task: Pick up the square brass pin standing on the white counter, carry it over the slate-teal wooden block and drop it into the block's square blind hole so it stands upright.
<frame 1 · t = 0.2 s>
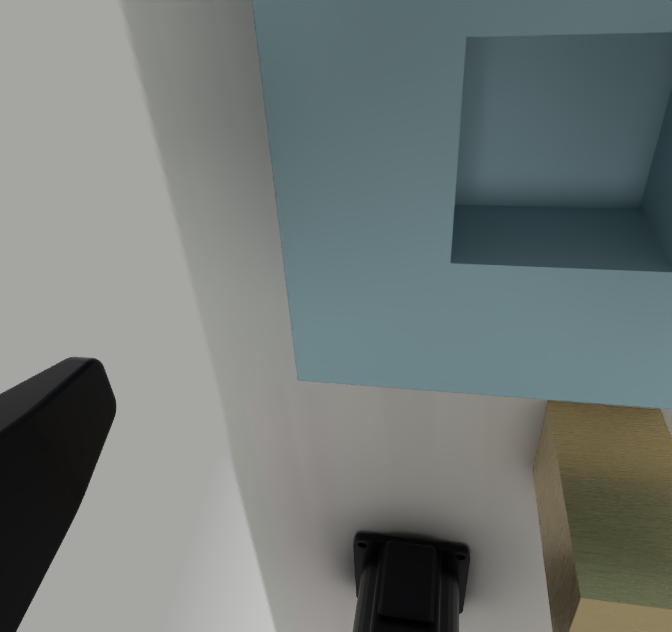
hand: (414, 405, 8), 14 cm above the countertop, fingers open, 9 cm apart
brass pin: (592, 442, 27), on the countertop
hole block: (554, 106, 19), on the countertop
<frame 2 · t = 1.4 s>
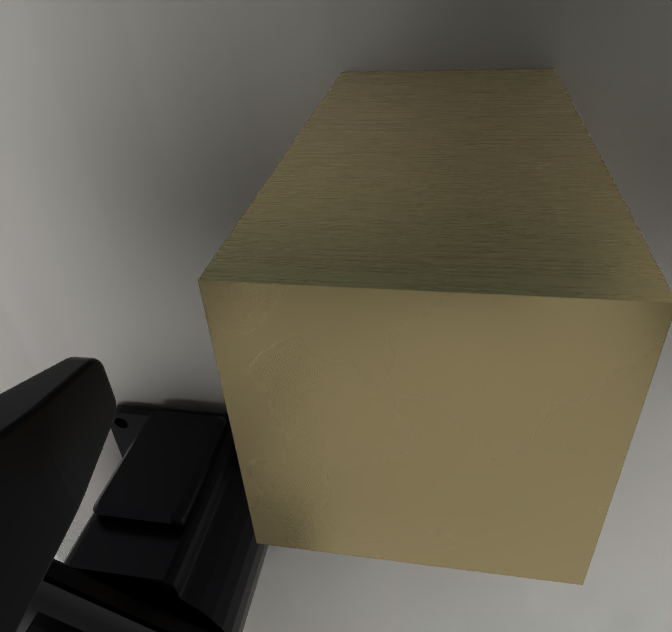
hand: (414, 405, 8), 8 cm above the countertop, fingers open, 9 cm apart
brass pin: (439, 170, 14), on the countertop
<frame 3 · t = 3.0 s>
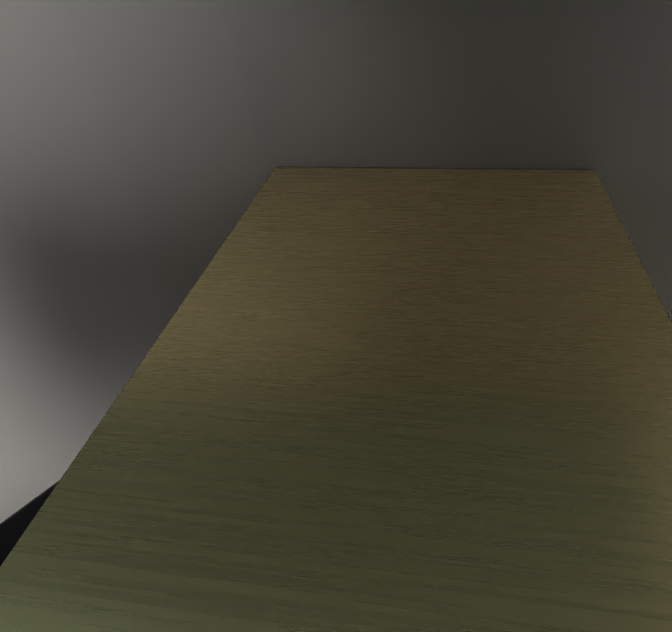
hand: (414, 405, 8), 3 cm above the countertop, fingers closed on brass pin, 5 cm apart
brass pin: (423, 300, 10), on the countertop, touching gripper
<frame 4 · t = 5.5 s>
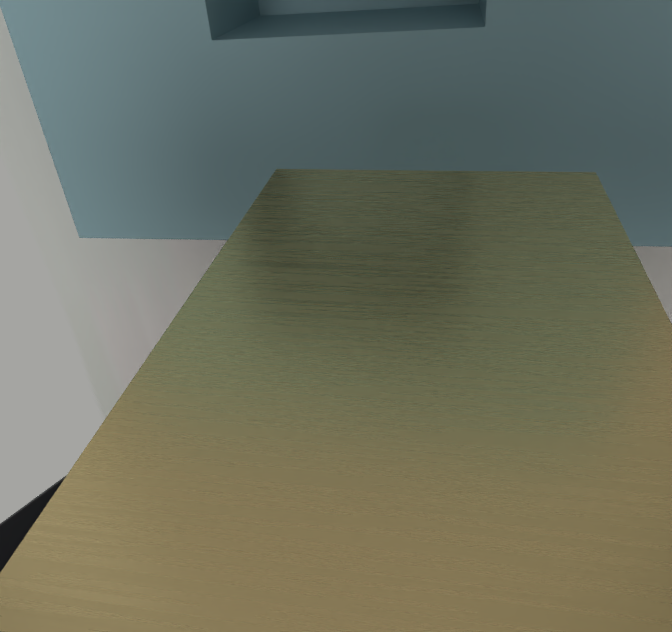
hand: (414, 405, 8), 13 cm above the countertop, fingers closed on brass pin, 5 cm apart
brass pin: (423, 301, 10), point 10 cm above the countertop, touching gripper
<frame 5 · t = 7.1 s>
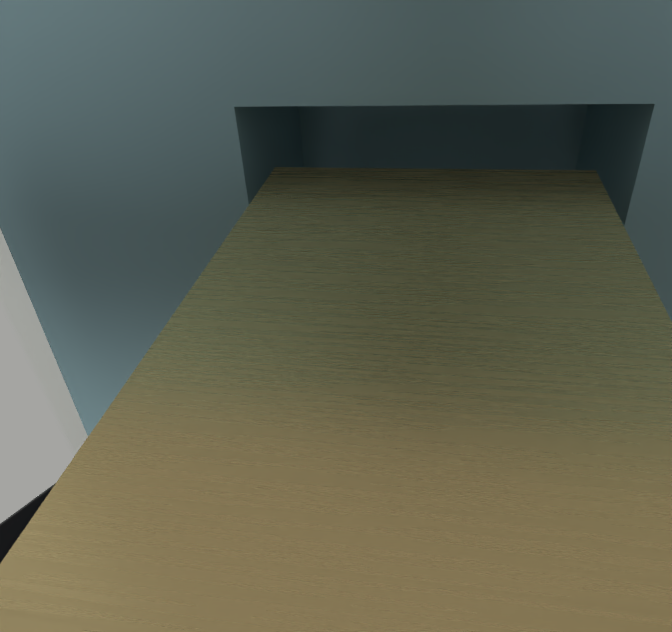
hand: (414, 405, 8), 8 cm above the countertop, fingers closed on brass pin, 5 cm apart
brass pin: (423, 300, 10), point 6 cm above the countertop, touching gripper
hole block: (435, 173, 14), on the countertop
when the fingers open (6 cm above the countertop, at t = 8.4 s): brass pin drops 2 cm, resting on hole block.
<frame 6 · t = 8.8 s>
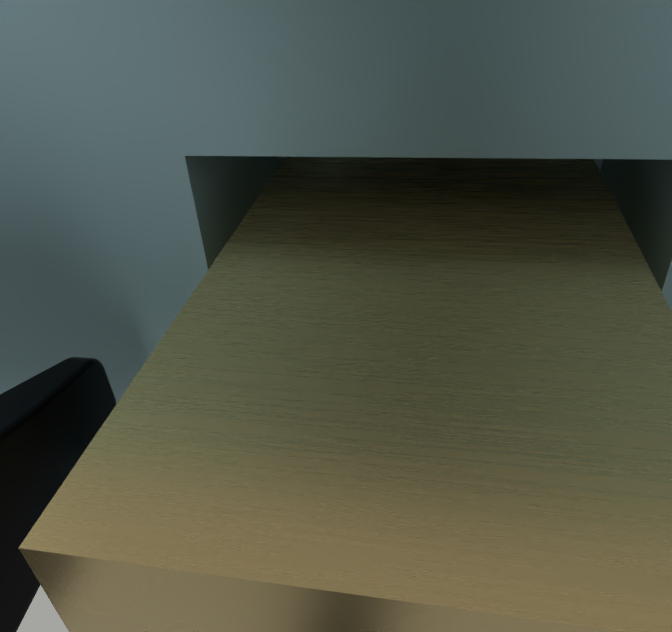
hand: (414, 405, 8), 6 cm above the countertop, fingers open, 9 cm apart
brass pin: (431, 233, 12), point 1 cm above the countertop, touching hole block
hole block: (431, 211, 13), on the countertop
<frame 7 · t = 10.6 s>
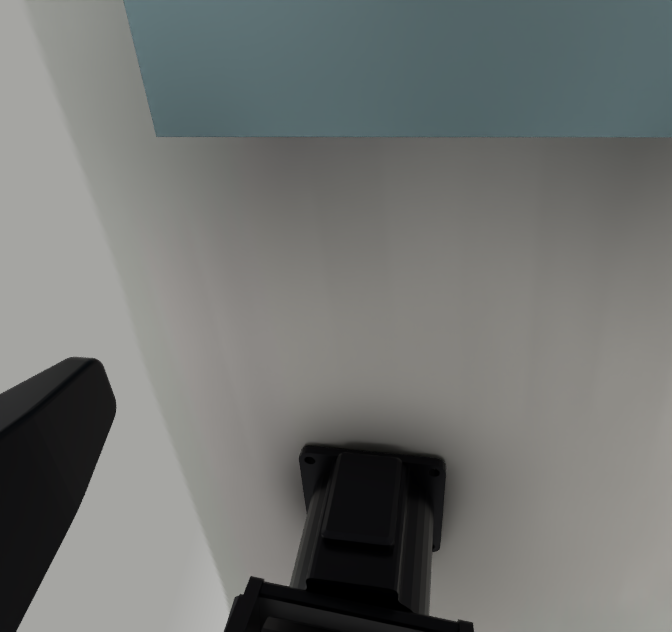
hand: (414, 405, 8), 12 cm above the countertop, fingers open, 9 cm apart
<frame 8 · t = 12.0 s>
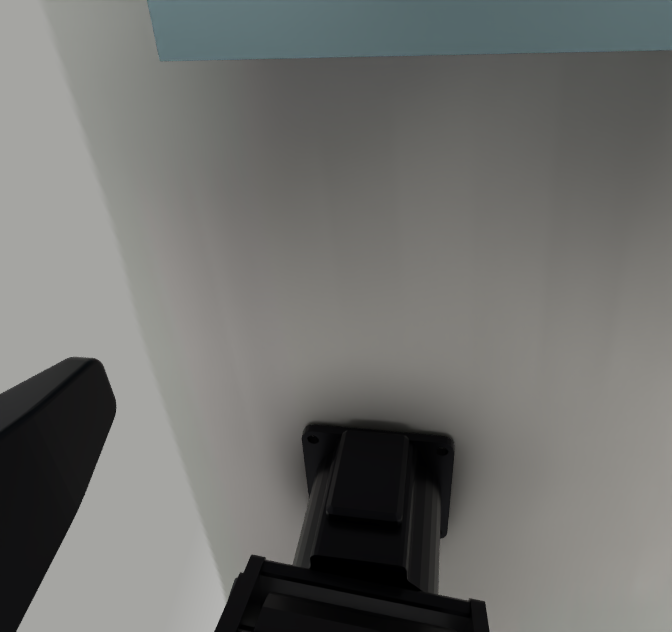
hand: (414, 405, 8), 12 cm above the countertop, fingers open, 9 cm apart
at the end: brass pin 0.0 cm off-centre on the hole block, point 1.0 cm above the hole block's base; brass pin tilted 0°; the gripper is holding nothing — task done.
